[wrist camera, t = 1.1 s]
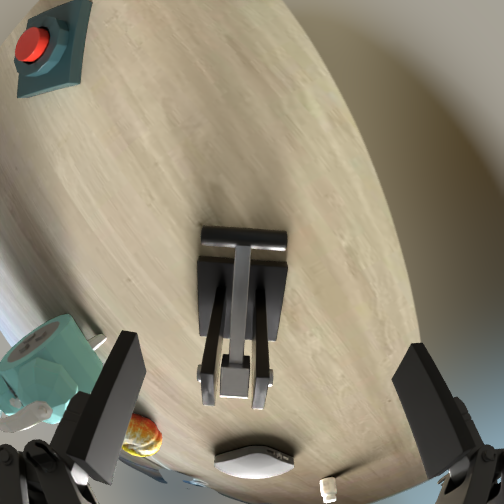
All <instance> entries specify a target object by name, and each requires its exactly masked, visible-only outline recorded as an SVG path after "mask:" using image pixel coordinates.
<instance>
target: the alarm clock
mask: <svg viewBox="0 0 504 504" xmlns="http://www.w3.org/2000/svg"><path fill="white" fill-rule="evenodd" d="M106 338H107V337H105V336H104V335H103V334H99V335H96V336H94V337H93V338H91V339H90V340H88V341H87V340H86V339H85V337H84V335H83V334H82V332H81V331H80V329H79V328H78V326H77V324H76V323H75V321H74V319H73V318H72V316H71V315H69V314H64V315H60V316H58V317H56V318H53V319H51V320H49V321H47V322H46V323H44V324H42V325H41V326H39V327H37V328H36V329H34V330H33V331H32V332H30V333H29V334H28V335H26V336H25V337H23V338H22V339H21V340H20V341H19V342H18V343H17V344H15V345H14V346H13V347H12V348H11V349H10V350H9V351H8V352H7V354H6V355H5V356H4V357H3V359H2V360H1V362H0V430H2V431H3V432H9V433H14V432H16V431H20V430H24V429H28V428H30V427H32V426H34V425H35V424H38V423H40V422H42V421H43V422H47V423H50V424H55V423H58V422H60V420H61V418H63V414H64V412H65V410H66V408H67V406H68V403H69V401H70V399H71V398H72V397H73V396H74V395H75V394H76V393H77V392H78V391H82V392H85V393H89V394H90V393H91V392H92V390H93V388H94V385H95V383H96V381H97V379H98V377H99V375H100V373H101V371H102V369H103V363H102V362H101V360H100V359H99V358H98V356H97V355H96V353H95V352H94V351H95V350H96V349H97V348H98V347H99V346H100V345H101V344H102V343H103V342H104V341H105V340H106ZM2 411H3V412H4V413H5V414H6V415H8V417H6V418H1V416H2Z"/></svg>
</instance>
